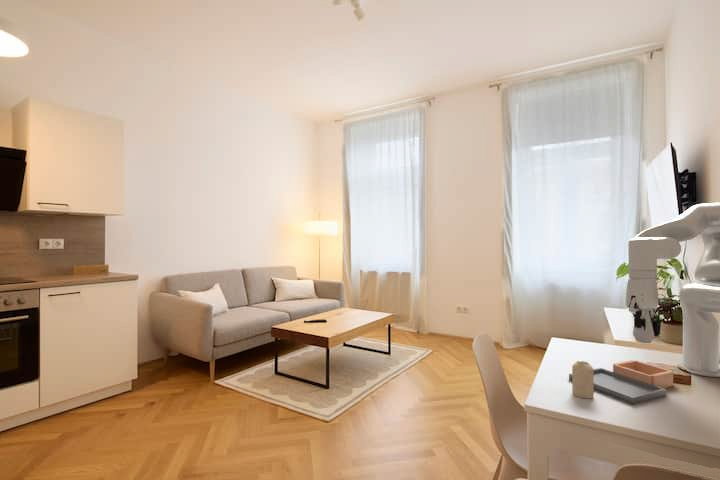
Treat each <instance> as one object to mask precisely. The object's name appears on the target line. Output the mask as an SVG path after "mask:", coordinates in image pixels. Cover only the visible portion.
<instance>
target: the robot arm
mask: <svg viewBox="0 0 720 480" xmlns="http://www.w3.org/2000/svg"><path fill="white" fill-rule="evenodd" d="M698 235H700V237H701V239H702V242H703V245H704V246H703V247H704V248H703V251H702V254H701V256H700V258H699V261H698V263H697V265H696V268H695V271H694V278H695V279H696V281H698V282H699V283H687V284H685V285H683V286H682V287H681V288H680V289H679V293H678V294H679V295H678V297H679V302H680V305H681V310H682V362H678V363H677V365H678V366H682V367H684V368H686V369H687V370H688V371H689V372H690V374H694V375H697V376H703V377H711V378H720V325H719V322H718V320H717V318H716V317H715V315H714V314H713V313H717V314H720V201H719V202H718V201H717V202H705V203H704V202H703V203H699V204H695V205H692V206H690V207H689V208H688V209H687V210H685V211H683V213H681V214H679V215H677V217H675V218H674V219H672V220H670V221H666V222H664V223H661V224H658V225H656V226H651V227H650V228H648V229H645V230H643V231H641V232H640V233H639V234H636V235H635V237H633V238H631V239H629V241H628V242H627V244H628V245H627V246H628V247H627V248H628V255H627V257H628V279H627V283H626V284H627V285H626V293H625V306H626V308H628V312H630V313H631V314H632V317H633V329H635V327H637V328H641V327H642V326H643V327H644V331H645V327H646V319H644V310H645V309H648V308H649V307H651V310H650V311H649V314H650V318H651V323H652V327H653V326H654V325H653V324H654V321H653V319H654V315H655V314H654V312H655V311H656V310H657V309H658V306H659V290H658V260H672V259H675V258H677V257H679V255H680V254H681V253H682V245H681V243H682V242H687V241H690V240H693V239H694V238H697V236H698ZM636 307H638V308H639V309H637V308H636ZM639 311H640V312H639ZM653 328H654V327H653ZM677 365H676V366H677ZM689 372H688V373H689Z"/></svg>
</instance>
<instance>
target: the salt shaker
mask: <svg viewBox="0 0 720 480" xmlns="http://www.w3.org/2000/svg"><path fill="white" fill-rule="evenodd" d="M636 308H637V309H639V308H638V307H636ZM650 310H651V307H649V308H648V309H645V310H644V319H646V327H645V331H644V327H643V326H642V327H641V328H637V327H635V329H634V328H633V329H632V335H633V337H634V339H635V341H636V342H638V343H642V344H651V343H652V341H653V340H654V338H655V332H654V327H652V323H651V318H650V314H649V311H650ZM639 312H640V311H639Z"/></svg>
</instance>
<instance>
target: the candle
mask: <svg viewBox="0 0 720 480" xmlns="http://www.w3.org/2000/svg"><path fill="white" fill-rule="evenodd" d="M594 369H595V368H594V367H593V366H592V365H591V364H590V363H589V362H587V361H584V360H583V361H579V360H577V361H576V362H574V363H573V364H572V372H571V373H572V381H571V383H572V384H571V385H572V388H571V389H572V394H573V395H574V396H575V397H577V398H582V399H587V400H588V399H589V400H590V399H593V398H594V393H595V390H594Z"/></svg>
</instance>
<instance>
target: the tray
mask: <svg viewBox="0 0 720 480" xmlns="http://www.w3.org/2000/svg"><path fill="white" fill-rule="evenodd" d="M593 369H594V391H596V392H598V393H602V394H605V395H607V396H609V397H612V398H614V399H617V400H619V401H621V402H624V403H627V404H630V405H632V406H633V405H637V404H641V403H645V402H648V401H649V402H650V401H653V400H656V399H659V398H663V397H666V396H667V388H661V387H658V386H655V385H652V384H648V383H645V382H642V381H639V380H636V379H633V378H630V377H627V376H624V375H621V374H618V373H615V372H613V371H612V370H609V369H605V368H603V367H597V368H593ZM568 381H571V382H572V372H571V373H569V374H568Z"/></svg>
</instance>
